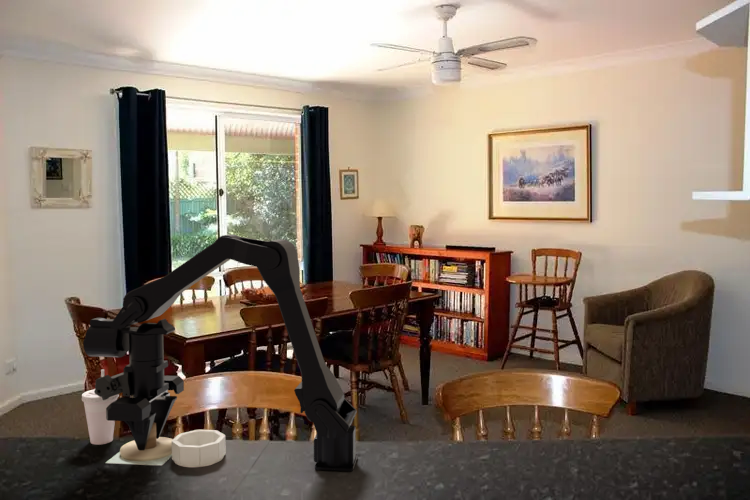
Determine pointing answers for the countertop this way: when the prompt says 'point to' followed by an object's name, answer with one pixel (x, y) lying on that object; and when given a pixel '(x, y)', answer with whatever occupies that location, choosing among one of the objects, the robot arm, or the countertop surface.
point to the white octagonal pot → (198, 448)
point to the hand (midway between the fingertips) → (148, 444)
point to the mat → (119, 460)
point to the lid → (148, 448)
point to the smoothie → (98, 416)
